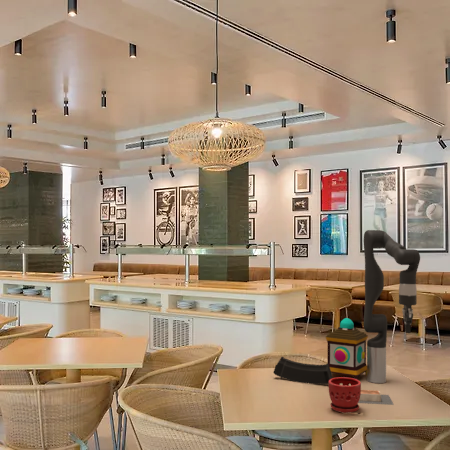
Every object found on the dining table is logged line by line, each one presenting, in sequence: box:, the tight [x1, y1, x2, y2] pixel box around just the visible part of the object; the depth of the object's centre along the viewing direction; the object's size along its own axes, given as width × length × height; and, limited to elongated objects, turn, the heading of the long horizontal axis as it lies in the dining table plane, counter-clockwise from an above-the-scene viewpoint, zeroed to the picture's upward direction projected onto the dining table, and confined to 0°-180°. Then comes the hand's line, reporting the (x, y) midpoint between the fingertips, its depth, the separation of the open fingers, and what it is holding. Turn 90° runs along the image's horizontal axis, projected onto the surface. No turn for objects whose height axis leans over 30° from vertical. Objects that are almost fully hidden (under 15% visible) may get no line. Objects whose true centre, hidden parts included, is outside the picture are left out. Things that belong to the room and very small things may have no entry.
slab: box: [359, 389, 382, 402], centre depth 239 cm, size 6×3×18 cm
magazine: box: [273, 356, 334, 385], centre depth 269 cm, size 17×3×30 cm
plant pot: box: [328, 376, 362, 414], centre depth 225 cm, size 13×13×12 cm
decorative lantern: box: [325, 317, 369, 380], centre depth 282 cm, size 20×20×30 cm
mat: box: [358, 394, 394, 406], centre depth 240 cm, size 15×22×1 cm
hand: (407, 332), depth 244 cm, fingers closed
